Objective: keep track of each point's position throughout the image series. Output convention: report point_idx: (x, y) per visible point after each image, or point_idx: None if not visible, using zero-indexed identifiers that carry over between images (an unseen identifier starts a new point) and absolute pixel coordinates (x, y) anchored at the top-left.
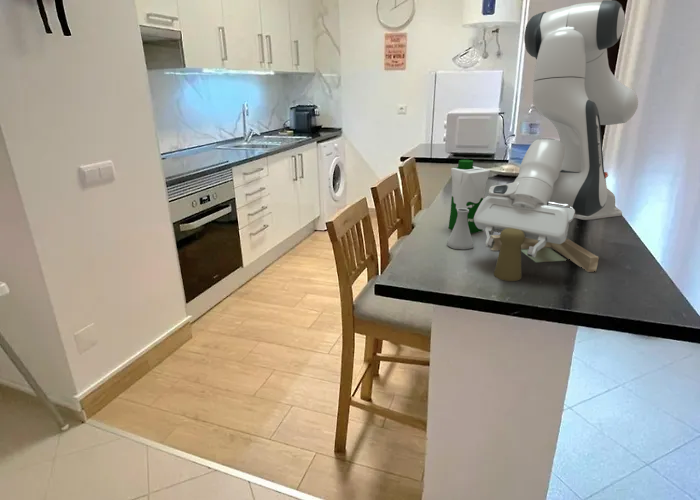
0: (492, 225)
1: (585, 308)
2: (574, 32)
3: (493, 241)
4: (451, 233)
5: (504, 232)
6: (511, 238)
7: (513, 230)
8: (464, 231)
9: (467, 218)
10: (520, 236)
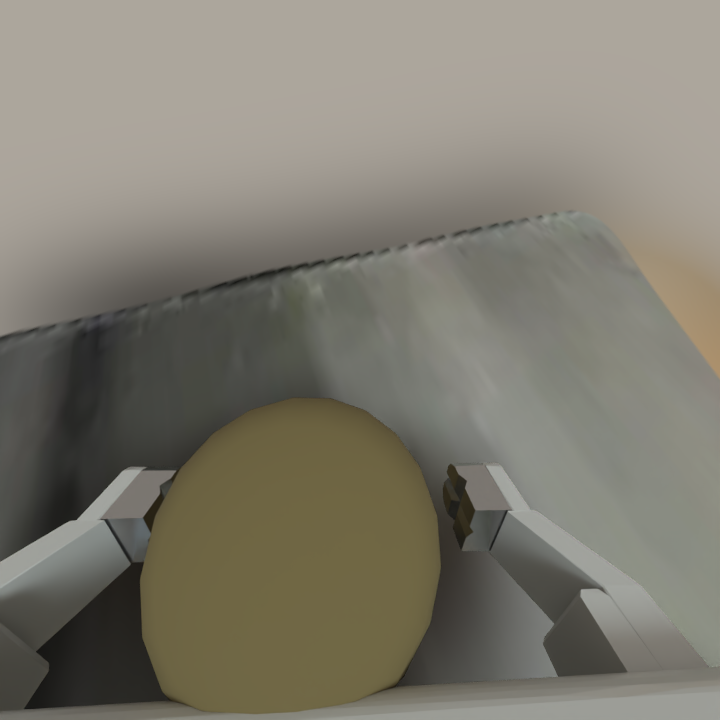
0: (651, 674)
1: (23, 364)
2: None
3: (464, 510)
4: None
5: (374, 436)
6: (279, 402)
7: (274, 524)
8: None
9: None
10: (182, 467)
